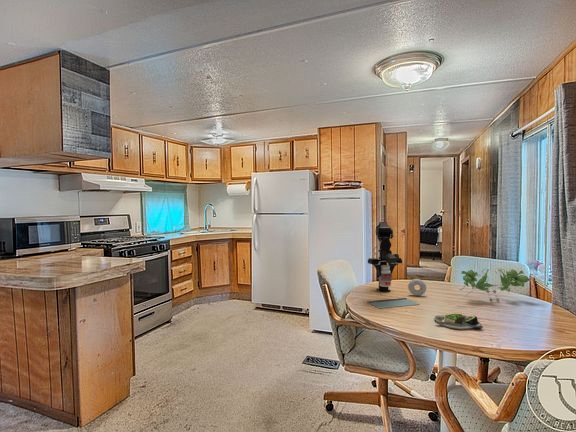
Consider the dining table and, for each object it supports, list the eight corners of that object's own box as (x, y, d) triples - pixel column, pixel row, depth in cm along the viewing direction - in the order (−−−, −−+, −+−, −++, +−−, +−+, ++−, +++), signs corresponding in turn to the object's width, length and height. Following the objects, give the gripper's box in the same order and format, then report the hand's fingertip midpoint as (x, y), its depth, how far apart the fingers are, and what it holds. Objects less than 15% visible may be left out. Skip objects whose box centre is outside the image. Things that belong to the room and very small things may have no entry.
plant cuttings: (454, 310, 186) (470, 294, 168) (445, 282, 196) (460, 265, 178) (517, 310, 184) (540, 294, 166) (505, 282, 194) (526, 264, 176)
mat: (369, 303, 178) (369, 302, 178) (408, 299, 184) (408, 299, 184) (379, 308, 168) (379, 308, 168) (419, 304, 174) (419, 304, 174)
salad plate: (445, 333, 135) (445, 322, 135) (423, 319, 153) (423, 309, 153) (489, 331, 137) (489, 320, 137) (462, 317, 155) (462, 307, 154)
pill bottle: (392, 286, 182) (392, 266, 182) (382, 287, 180) (382, 266, 180) (387, 284, 188) (387, 264, 188) (377, 285, 186) (377, 265, 186)
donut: (426, 295, 192) (426, 278, 191) (426, 297, 188) (426, 280, 188) (408, 294, 195) (408, 277, 195) (408, 295, 192) (408, 279, 192)
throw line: (367, 302, 180) (367, 301, 180) (405, 298, 186) (405, 297, 186) (368, 302, 179) (368, 302, 179) (406, 299, 185) (406, 298, 185)
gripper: (377, 250, 174) (377, 279, 174) (407, 249, 178) (408, 277, 178) (367, 248, 185) (367, 276, 185) (396, 247, 189) (396, 274, 189)
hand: (385, 276), depth 184 cm, fingers closed on pill bottle, 6 cm apart
